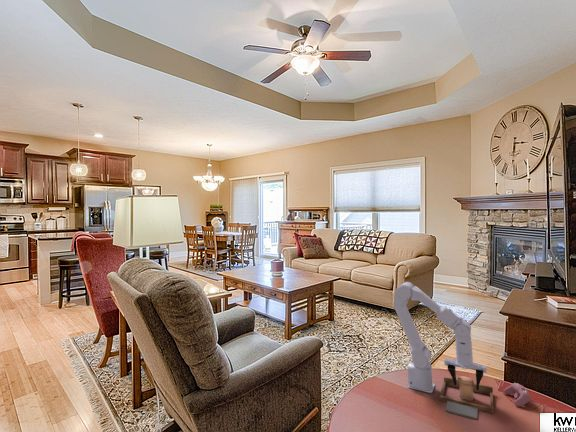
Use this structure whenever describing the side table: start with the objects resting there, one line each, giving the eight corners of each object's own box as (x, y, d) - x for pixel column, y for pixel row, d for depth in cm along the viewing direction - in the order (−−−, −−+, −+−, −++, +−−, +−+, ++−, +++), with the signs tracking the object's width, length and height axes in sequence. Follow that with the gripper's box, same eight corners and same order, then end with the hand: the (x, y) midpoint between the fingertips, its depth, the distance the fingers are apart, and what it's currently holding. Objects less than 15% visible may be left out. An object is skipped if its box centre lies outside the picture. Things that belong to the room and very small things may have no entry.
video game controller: (527, 412, 114) (535, 395, 113) (514, 405, 115) (522, 389, 114) (513, 398, 123) (521, 382, 123) (501, 392, 124) (509, 376, 124)
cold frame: (439, 400, 121) (439, 392, 121) (444, 383, 133) (443, 376, 133) (493, 413, 111) (492, 404, 111) (493, 394, 124) (492, 386, 124)
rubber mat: (445, 411, 113) (445, 409, 113) (447, 402, 119) (447, 400, 119) (477, 420, 108) (477, 418, 108) (477, 409, 114) (477, 408, 114)
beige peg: (458, 398, 121) (457, 380, 122) (459, 392, 126) (458, 375, 126) (474, 402, 118) (473, 384, 119) (474, 395, 123) (473, 378, 123)
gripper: (442, 352, 124) (444, 386, 123) (485, 359, 116) (487, 396, 115) (444, 346, 130) (446, 379, 129) (485, 352, 122) (488, 387, 121)
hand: (466, 386), depth 122 cm, fingers open, 7 cm apart
